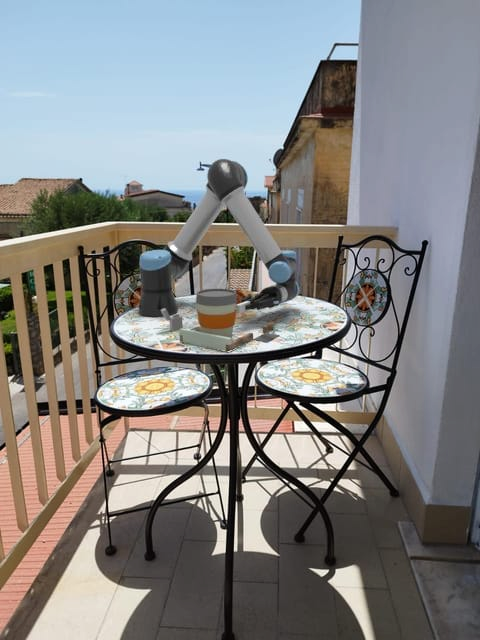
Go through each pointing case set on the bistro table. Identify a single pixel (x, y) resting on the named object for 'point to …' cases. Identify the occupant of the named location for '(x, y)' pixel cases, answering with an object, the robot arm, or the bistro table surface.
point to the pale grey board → (205, 339)
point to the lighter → (173, 320)
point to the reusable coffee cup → (217, 311)
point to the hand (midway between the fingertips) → (237, 309)
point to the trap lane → (246, 337)
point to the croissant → (242, 294)
